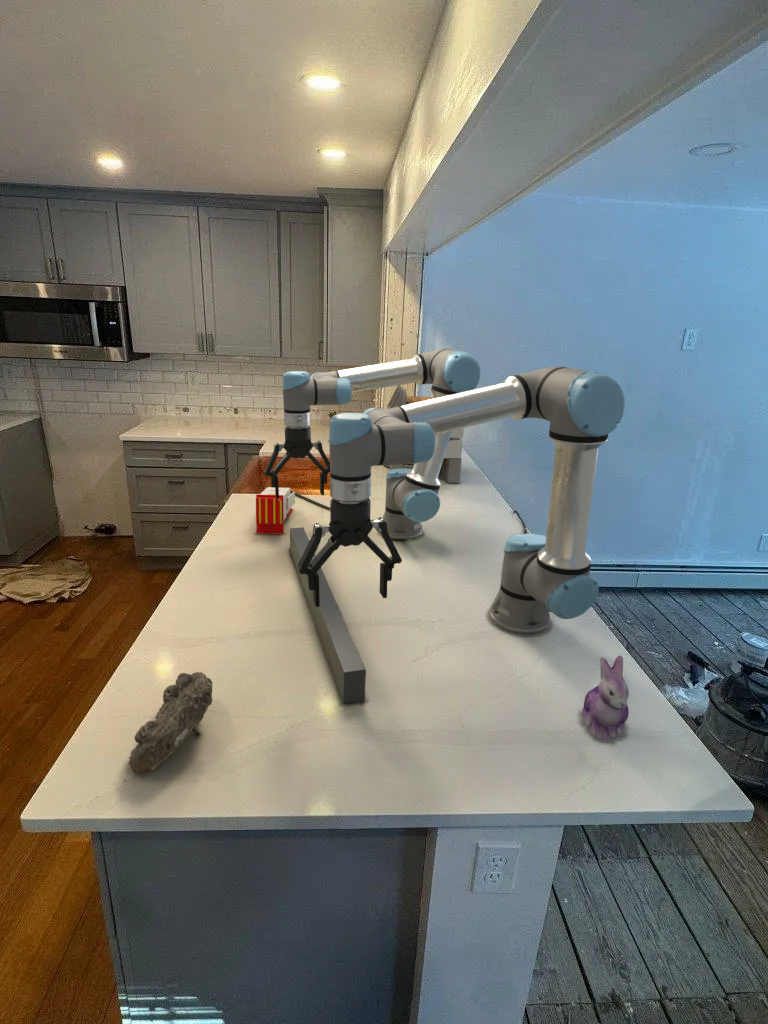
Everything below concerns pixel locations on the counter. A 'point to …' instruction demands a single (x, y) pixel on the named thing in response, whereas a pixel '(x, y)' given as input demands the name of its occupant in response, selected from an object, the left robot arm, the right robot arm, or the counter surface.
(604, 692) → the figurine
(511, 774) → the counter surface
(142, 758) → the fossil
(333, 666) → the bar
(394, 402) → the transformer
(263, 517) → the toy
